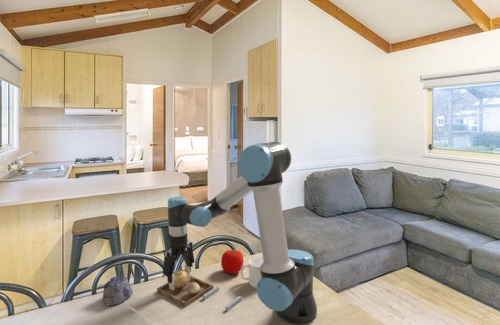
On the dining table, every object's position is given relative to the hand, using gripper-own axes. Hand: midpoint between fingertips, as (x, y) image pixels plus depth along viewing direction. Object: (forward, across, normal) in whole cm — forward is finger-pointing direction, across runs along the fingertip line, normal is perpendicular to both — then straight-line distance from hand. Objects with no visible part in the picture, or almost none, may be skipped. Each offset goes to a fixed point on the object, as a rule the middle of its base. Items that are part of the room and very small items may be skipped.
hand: (179, 284), depth 128 cm
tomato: (+2, -24, +9) cm, 26 cm away
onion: (+1, 0, 0) cm, 1 cm away
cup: (+2, -22, +24) cm, 32 cm away
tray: (+2, 0, +4) cm, 4 cm away
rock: (+2, +20, -14) cm, 25 cm away
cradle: (+2, -4, +20) cm, 21 cm away
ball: (+2, 0, +8) cm, 9 cm away
